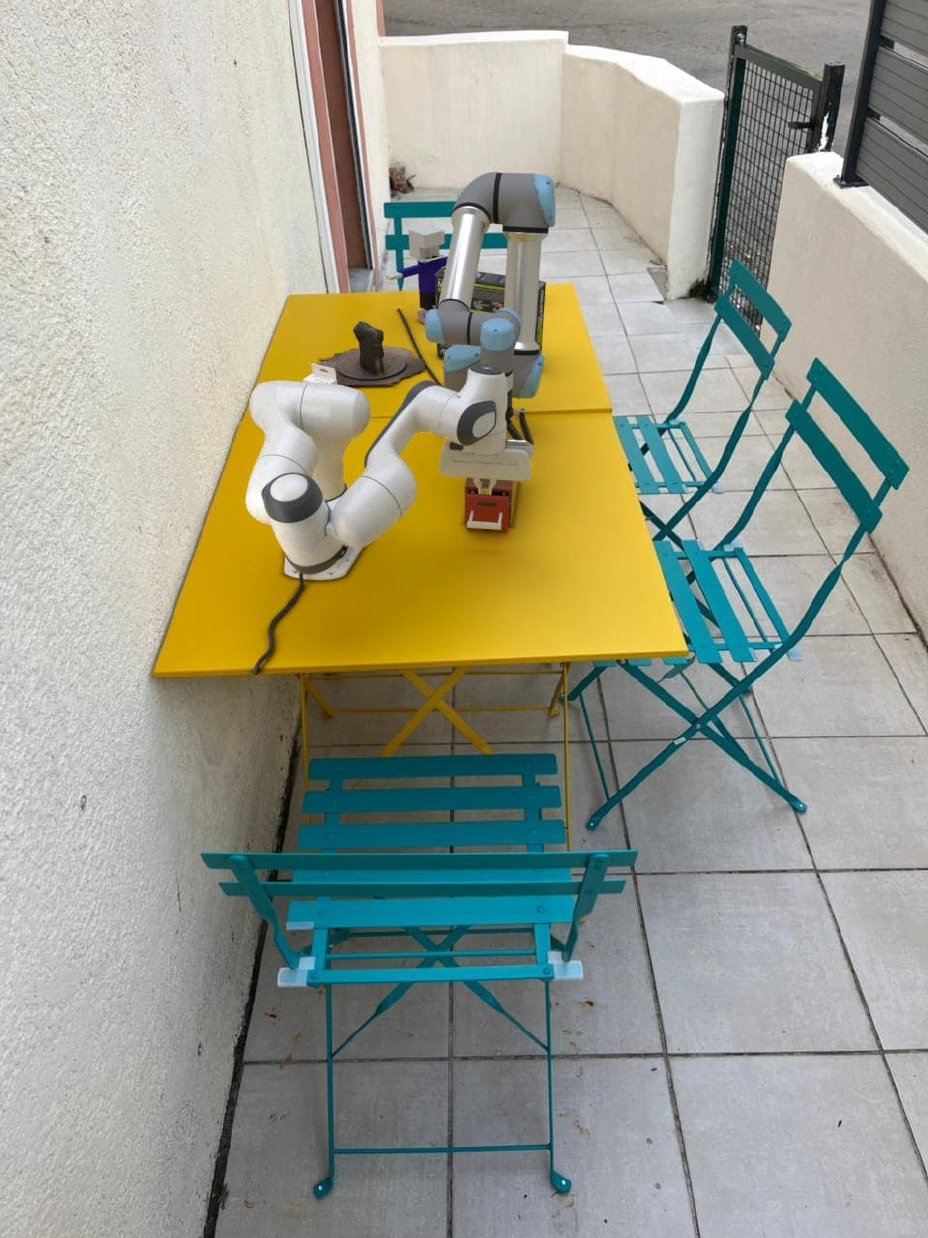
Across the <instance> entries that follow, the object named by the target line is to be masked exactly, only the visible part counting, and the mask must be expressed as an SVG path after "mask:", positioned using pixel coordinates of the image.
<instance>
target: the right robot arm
mask: <svg viewBox="0 0 928 1238" xmlns="http://www.w3.org/2000/svg"><path fill="white" fill-rule="evenodd" d="M556 213H557V211H556V193H555V183H554V180H553V179H552V177H551V176H549V175H547V174H540V173H535V172H533V173H528V172H527V173H526V172H525V173H524V172H498V171H489V172H485V173H483V174H481V175H479V176H477V177H475V178H473V180H471V182H469V183H468V184H467V185H466V187H464V189H463V190H462V191H461V192H460V194H459V196H458V197H457V199H456V201H455V203H454V206H453V209H452V212H451V218H450V221H451V225H452V227H453V228H452V234H451V239H450V245H449V249H448V255H447V256H448V259H447V264H446V266H445V267H446V269H445V274H444V279H443V284H442V290H441V295H440V300H439V305H438V309H434V310H429V311H428V312H427V314H426V319H425V324H424V334H425V338H426V340H427V341H428V342H429V343H433V344H434V343H435V344H437V343H439V344H456V345H454V346H452V347H450V348H449V349H448V350H447V351H446V352H445V354H444V358H443V365H442V370H443V385H442V383H441V382H440V381H439V380H438V378H437V377H436V376H435V374H434V373H433V372H432V370H431V369H430V367H429V366H428V364H427V362H426V361H424V360H425V359H424V357H423V355H422V354H421V351H420V350H419V348H418V346H417V343H416V342H415V339H414V337H413V334H412V332H411V329H410V327H409V325H408V322H407V320H406V318H405V316H404V314H403V312H402V311H401V309H400V308H397V311H398V313H399V315H400V317H401V319H402V322H403V323H404V326H405V327H406V330H407V332H408V335H409V337H410V340H411V342H412V344H413V347H414V349H415V351H416V353H417V355H418V358H419V359H422V360H423V362H424V364H425V369H426V370H427V372H428V373H429V374H430V376H431V378H433V380H434V382H435V383H437V384H439V385H441V386H443V387H445V388H447V389H450V390H453V391H456V392H460V391H461V390H462V388H463V387H464V385H465V384H466V380H467V373H468V369H469V367H471V366H473V365H477V364H485V365H491V366H494V367H497V368H499V369H501V370H502V371H503V372H504V374H505V377H506V382H507V410H506V413H505V419H506V423H507V431H506V432H507V433H508V434H509V435H510V437H511V439H514V440H526V441H527V442H529V443H531V444H532V445H533V446H534V439H533V436H532V432H531V430H530V427H529V425H528V422H527V419H526V408H524V407H523V408H520V409H514V407H513V399H517V400H519V399H525V400H526V399H529V400H531V399H533V398H535V397H536V395H538V392H539V387H540V384H541V380H542V376H543V375H542V374H543V370H544V365H545V359H546V357H545V355H544V354H543V353H542V354H539V350H540V347H539V345H538V344H537V343H536V342H535V327H536V313H537V299H538V285H539V280H540V271H541V270H540V269H541V257H542V243H543V241H544V240H545V239H546V238H547V237H548V236H549V230H550V229H551V228H553V227H555V226H556ZM492 224H493V225H494V224H495V225H502V228H501V233H502V234H503V235H504V237H505V238H506V240H507V243H506V244H507V247H506V262H505V263H506V265H505V275H506V279H505V296H504V308H501V309H499V310H497V311H496V312H495V313H479V312H470V306H471V301H472V296H473V290H474V285H475V279H476V274H477V271H478V268H479V263H480V257H481V251H482V247H483V240H484V235H485V234H487V232H488V231H489V229H490V225H492ZM513 417H515V418H516V420H517V421H518V422H519V423H518V424H519V426H520V429H521V431H522V435H523V437H522V436H521V434H520V432H519V431H518V430H517V428H516V427H515V425H514V423H513V421H512V418H513ZM527 445H529V444H527Z"/></svg>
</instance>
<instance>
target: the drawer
mask: <svg viewBox="0 0 928 1238" xmlns="http://www.w3.org/2000/svg"><path fill="white" fill-rule="evenodd" d="M508 506H509V496H508V492H497V491H492V494H491V495H485V494H478V490H471V494H466V524H465V528H466V529H467V528H469V529H482V530H497V531H508V528H509V527H508Z"/></svg>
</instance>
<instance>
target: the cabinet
mask: <svg viewBox="0 0 928 1238" xmlns="http://www.w3.org/2000/svg"><path fill="white" fill-rule="evenodd" d="M480 481H481V483H482V484H488V485H489V484H490V479H482V478H480ZM518 485H519V481H513V480H497V481H496V484H495V485H494V487H493V488H492V491H497V492H508V496H509V506H508V528H511V527H512V524H513V523H512V522H513V516H514V511H515V503H516V498H517V492H518ZM471 490H478V488H477V486H476V485H475V483H474V482H473V478H467V477H466V480H465V482H464V525H466V494H471Z"/></svg>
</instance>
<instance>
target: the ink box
mask: <svg viewBox="0 0 928 1238" xmlns="http://www.w3.org/2000/svg"><path fill="white" fill-rule="evenodd" d="M319 369H324V370H327V371H328V373H327V372H323V371H320V370H319ZM311 371H312V373H311V374H309V375H307V376H306V377H305V378H303V379H302V382H309V383H311V382H313V383H325V384H336V385H337V379H336V372H335V369H334V368H330V367H326V366H322V365H317V363H311Z"/></svg>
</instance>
